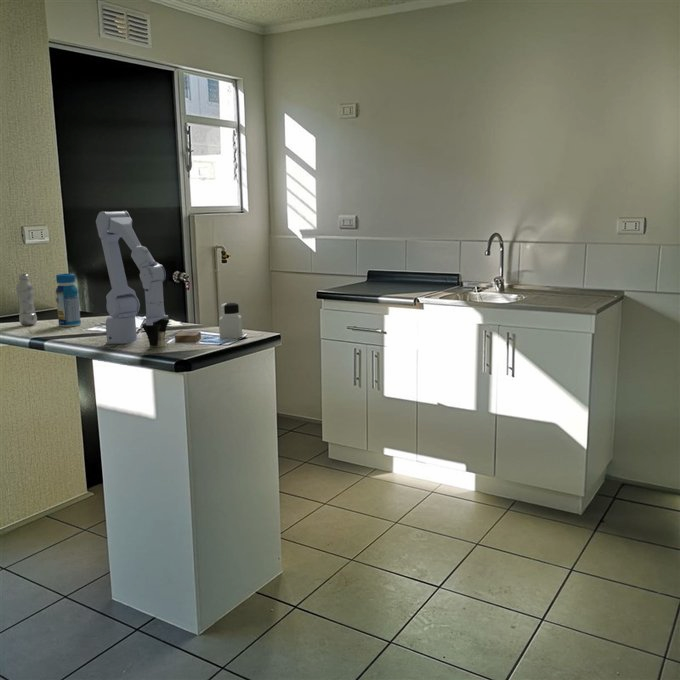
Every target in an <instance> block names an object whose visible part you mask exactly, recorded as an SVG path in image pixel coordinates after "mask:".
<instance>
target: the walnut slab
mask: <svg viewBox="0 0 680 680" xmlns="http://www.w3.org/2000/svg"><path fill="white" fill-rule="evenodd" d="M201 332H202V331H179V332H178V333H176V334H175V335H174V339H175V343H196V342H197V341H198V340H200V339H201V337H202V334H201Z"/></svg>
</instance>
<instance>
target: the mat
mask: <svg viewBox="0 0 680 680" xmlns="http://www.w3.org/2000/svg"><path fill="white" fill-rule="evenodd" d="M204 339H206V336H201V339H200V340H198V341H197V342H196V343H175V338H174V339H172V340H171V341H170V342H168V343H167V345H199V344H200V342H202V341H203V340H204Z"/></svg>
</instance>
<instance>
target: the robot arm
mask: <svg viewBox="0 0 680 680" xmlns="http://www.w3.org/2000/svg"><path fill="white" fill-rule="evenodd" d="M95 224H96V225H95V226H96V229H97V234H98V237H99V238H100V242H101V247H102V251H103V255H104V259H105V264H106V268H107V273H108V277H109V282H110V286H111V289H110V291H108V293H107V294H106V296H105V299H106V304H105V305H106V306H105V307H106V311H107V313H108V314H109V316H108V317H107V318H106V319H105V331H106V344H107V345H108V344H109V345H110V344H112V345H113V344H114V345H115V344H118V345H119V344H124V345H125V344H129V343H130V344H131V343H136V342H137V341H139V340H140V339H141V337H138V336H137V325H136V316H137V315H138V313H139V311H140V308H141V307H140V306H141V303H140V300H139V298H138V296H137V294H136V291H135V290H134V289H133V288H131V287H130V286H129V285H128V280H127V276H126V273H125V267H124V263H123V259H122V254H121V249H120V244H119V240H120V238H121V239H122V240H123V241H124V242H125V244H126V245H127V246H128V248H129V249H130V250H131V253H130V257H131V259H132V260H133V262H134V263H135V265H136V267H137V268H138V270H139V279H140V282H141V284H142V289H144V299H145V300H144V301H145V313H146V315H145V323H143V324H142V329H143V330H144V332H145V334H146V336H147V339H148V340H147V341H148V343H150V345H149V347H150V346H157V344H158V334H159V332H165V333H166V331H167V326H168V324H169V322H170V318H169V315H168V314H166V311H165V305H164V304H165V303H164V286H163V282H164V281H165V280H166V278H167V277H166V276H167V275H166V268H165V267H164V266H163V264H160V263H159V262H157V261H156V260H155V259H154V257H153V255H152V254H151V252H150V250H149V249H148V248H147V247H146V246H143V245H142V243H141V242H140V240H139V239H138V237H137V235H136V232H135V231H134V229H133V218H131V216H130V213H129V212H128V211H127V210H121V211H103V210H102V211H99V213H98V214H97V217H96V220H95Z"/></svg>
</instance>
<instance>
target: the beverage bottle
mask: <svg viewBox="0 0 680 680" xmlns="http://www.w3.org/2000/svg"><path fill="white" fill-rule="evenodd" d="M55 278H56V283H57V284H58V285H57V287H56V289H55V294H56V297H55V302H56V308H57V309H56V310H57V316H58V317H57V319H58V320H57V321H58V326H59V327H62V328H68V327H69V328H71V327H77V326H80V325H81V324H82V321H81V311H80V296H79V294H78V293H79V290H78V287H77V286H76V285H75V282H76V276H75V274H74V273H58V274H56V276H55Z"/></svg>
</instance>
